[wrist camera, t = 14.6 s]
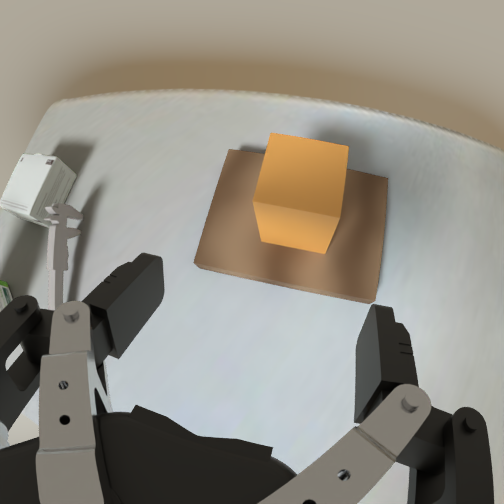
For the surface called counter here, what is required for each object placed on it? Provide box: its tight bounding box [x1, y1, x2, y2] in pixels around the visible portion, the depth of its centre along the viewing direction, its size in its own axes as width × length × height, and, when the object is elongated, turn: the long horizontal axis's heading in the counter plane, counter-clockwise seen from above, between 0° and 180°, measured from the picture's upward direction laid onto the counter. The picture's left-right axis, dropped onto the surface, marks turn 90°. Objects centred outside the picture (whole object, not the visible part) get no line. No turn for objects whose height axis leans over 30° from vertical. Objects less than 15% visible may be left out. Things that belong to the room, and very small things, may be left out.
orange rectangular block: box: [252, 133, 349, 254], centre depth 24 cm, size 6×6×8 cm
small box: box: [0, 153, 77, 228], centre depth 32 cm, size 8×8×5 cm
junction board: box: [194, 149, 388, 304], centre depth 29 cm, size 16×12×2 cm
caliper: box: [44, 203, 83, 310], centre depth 27 cm, size 20×1×6 cm, turn 178°
